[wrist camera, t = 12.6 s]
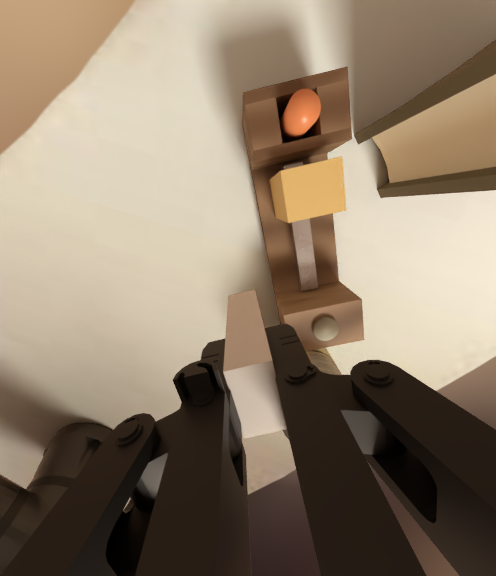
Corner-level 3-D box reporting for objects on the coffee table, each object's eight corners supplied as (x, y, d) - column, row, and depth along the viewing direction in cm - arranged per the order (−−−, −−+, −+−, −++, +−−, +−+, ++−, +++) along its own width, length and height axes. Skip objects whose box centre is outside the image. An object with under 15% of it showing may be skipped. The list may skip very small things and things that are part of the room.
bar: (314, 283, 38) (318, 287, 36) (299, 286, 38) (302, 290, 36) (298, 164, 32) (302, 161, 30) (281, 168, 32) (283, 166, 30)
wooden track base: (338, 311, 41) (366, 342, 32) (280, 323, 41) (291, 356, 32) (318, 104, 31) (350, 63, 22) (242, 122, 31) (243, 89, 22)
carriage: (318, 208, 34) (346, 210, 25) (275, 217, 34) (288, 223, 25) (313, 169, 32) (342, 156, 23) (269, 179, 32) (280, 170, 23)
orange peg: (280, 146, 28) (290, 131, 22) (276, 116, 27) (285, 93, 21) (305, 139, 28) (322, 123, 22) (302, 109, 27) (318, 84, 21)
